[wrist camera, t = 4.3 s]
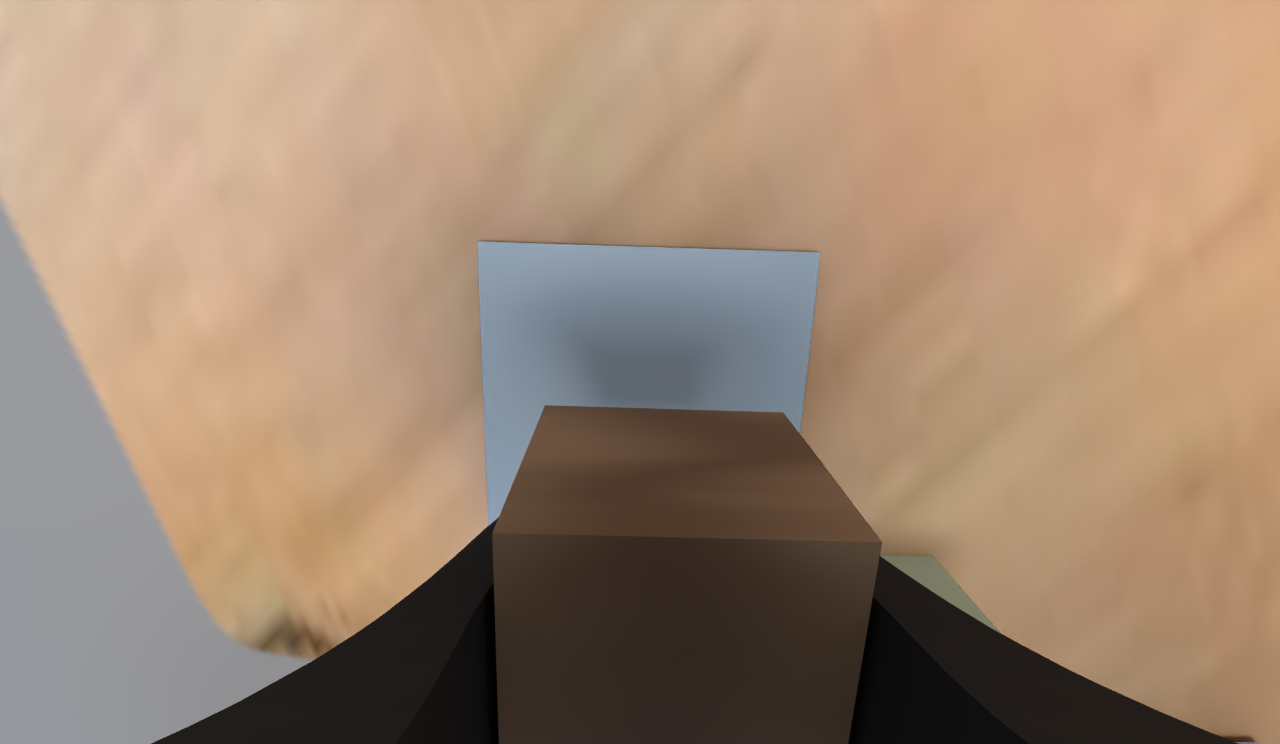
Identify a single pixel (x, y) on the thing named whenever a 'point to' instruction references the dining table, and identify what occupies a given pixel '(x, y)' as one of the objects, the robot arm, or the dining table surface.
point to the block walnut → (678, 583)
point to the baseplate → (636, 335)
